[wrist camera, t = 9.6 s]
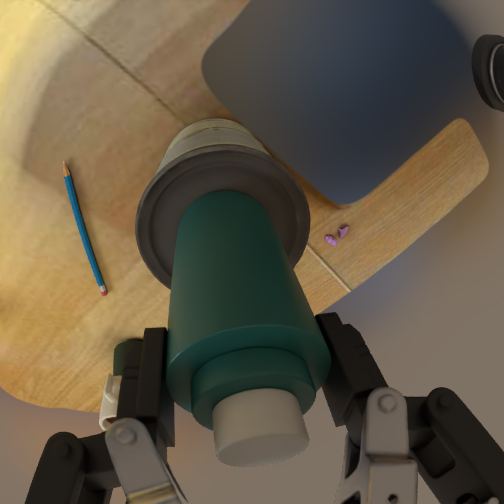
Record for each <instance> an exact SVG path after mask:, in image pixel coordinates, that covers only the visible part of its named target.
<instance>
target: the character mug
mask: <svg viewBox="0 0 504 504" xmlns="http://www.w3.org/2000/svg"><path fill="white" fill-rule="evenodd" d="M132 343H143V342H140V341H136V340H133V341H126V342H123V343H121V344H118V345H117V346H116V348H115V349H114V364H113V375H112V374H108V375H107V377H106V381H105V386H104V392H103V398H102V404H101V410H100V418H99V419H100V420H99V424H100V426H101V427H102V429H103V430H105V431H106V430H107V429H108V427H109V426H110V425H111V424H112V423H113V422H114V421H115V418H116V414H117V406H118V398H119V390H120V383H121V379H122V370H123V364H124V358H125V353H126V352H127V350H128V349H129V347H130V346H131V345H132Z"/></svg>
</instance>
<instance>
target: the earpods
mask: <svg viewBox="0 0 504 504" xmlns="http://www.w3.org/2000/svg"><path fill="white" fill-rule="evenodd" d="M348 228H349V226H347V227H345V228H343V229H340V228H339V230H340V231H341V239H342V238H343V237H344V235H345V234H346V232H347V230H348ZM325 238H326V241H328V243H331V244H332V245H333V246H336V245H337V243H338V240H337V239H333V237H332V236H331V237H330V235H328V236H325Z"/></svg>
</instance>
